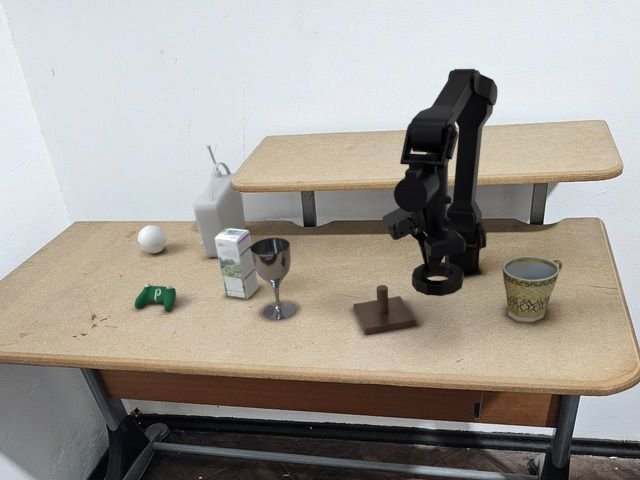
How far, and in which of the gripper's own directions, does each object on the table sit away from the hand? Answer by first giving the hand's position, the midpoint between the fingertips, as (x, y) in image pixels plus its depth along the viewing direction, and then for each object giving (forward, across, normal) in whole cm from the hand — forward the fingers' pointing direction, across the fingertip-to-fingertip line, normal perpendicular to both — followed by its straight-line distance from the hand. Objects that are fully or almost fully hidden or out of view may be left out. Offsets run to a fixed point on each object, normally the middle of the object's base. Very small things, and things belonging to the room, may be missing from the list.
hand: (430, 270), depth 119 cm
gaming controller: (+11, -26, -54) cm, 61 cm away
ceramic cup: (+11, +4, +19) cm, 23 cm away
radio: (+11, -54, -37) cm, 66 cm away
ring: (+1, +4, 0) cm, 4 cm away
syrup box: (+11, -25, -35) cm, 45 cm away
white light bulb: (+11, -56, -57) cm, 81 cm away
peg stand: (+11, -4, -8) cm, 14 cm away
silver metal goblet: (+11, -14, -28) cm, 33 cm away
